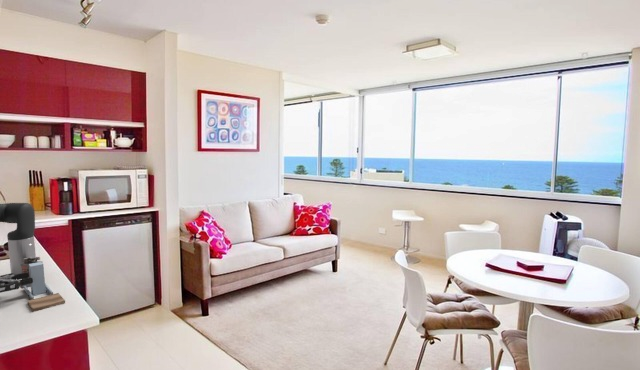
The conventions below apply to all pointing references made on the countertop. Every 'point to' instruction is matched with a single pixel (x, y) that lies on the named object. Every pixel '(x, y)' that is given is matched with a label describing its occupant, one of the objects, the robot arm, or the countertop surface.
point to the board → (46, 302)
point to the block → (37, 278)
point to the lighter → (26, 264)
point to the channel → (32, 295)
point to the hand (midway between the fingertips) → (30, 277)
